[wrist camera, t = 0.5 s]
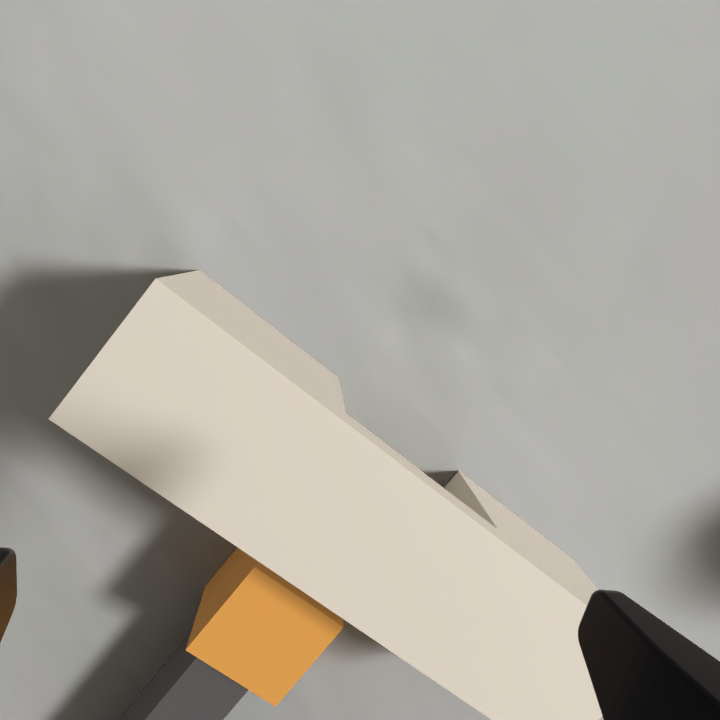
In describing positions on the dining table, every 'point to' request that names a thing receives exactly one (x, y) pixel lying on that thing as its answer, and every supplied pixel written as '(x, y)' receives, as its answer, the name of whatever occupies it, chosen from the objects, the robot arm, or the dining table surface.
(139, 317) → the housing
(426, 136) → the dining table surface
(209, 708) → the orange grey square bar
